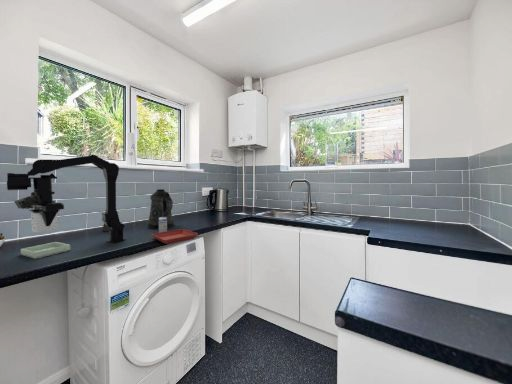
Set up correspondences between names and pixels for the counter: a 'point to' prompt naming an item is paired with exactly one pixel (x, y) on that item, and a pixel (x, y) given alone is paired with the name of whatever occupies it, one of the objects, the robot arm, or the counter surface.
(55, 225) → the aluminium block
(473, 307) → the counter surface
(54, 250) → the tray
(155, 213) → the dark olive backpack
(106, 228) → the door stopper
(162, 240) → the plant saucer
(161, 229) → the medicine box
